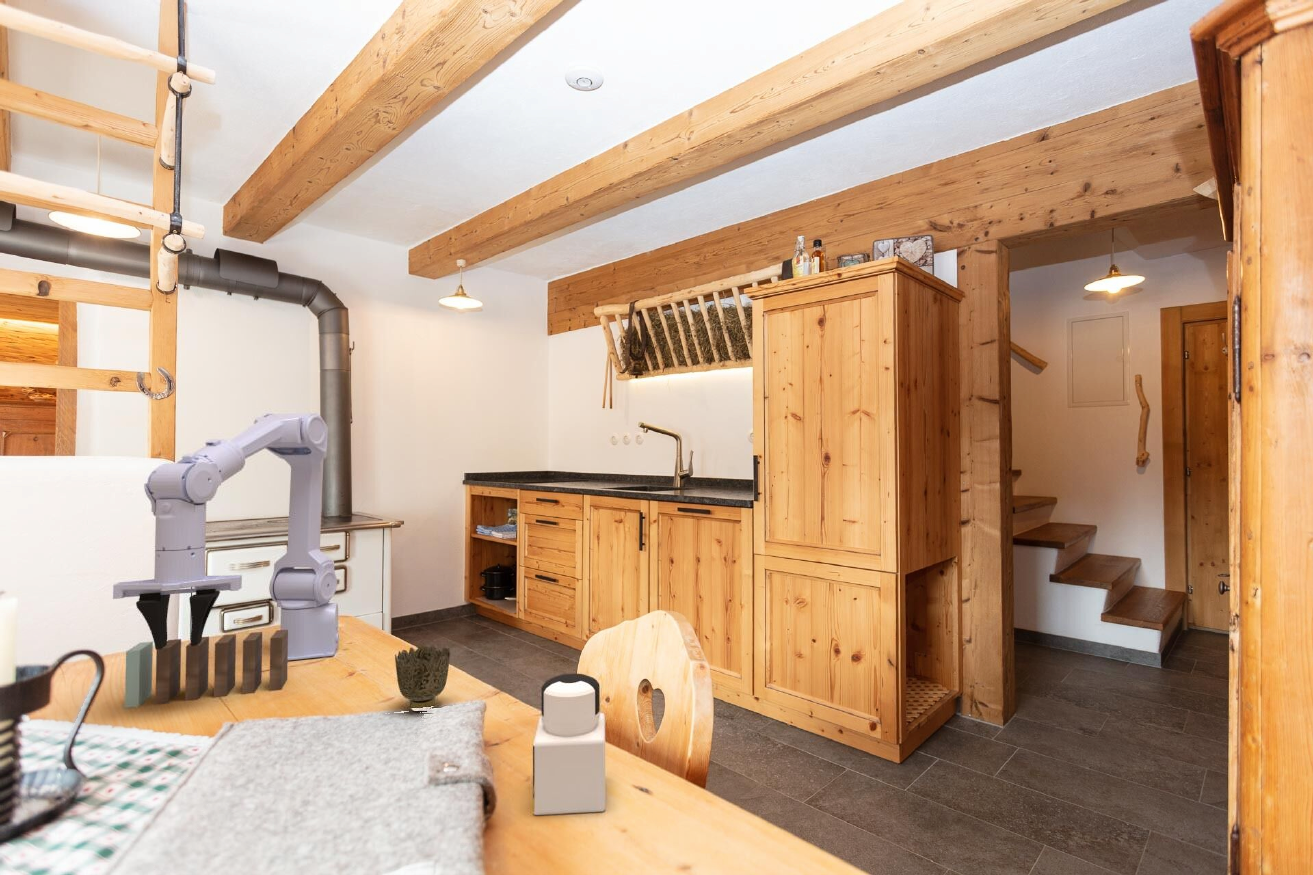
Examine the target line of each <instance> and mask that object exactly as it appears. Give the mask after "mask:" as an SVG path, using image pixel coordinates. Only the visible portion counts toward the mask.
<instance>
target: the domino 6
mask: <svg viewBox="0 0 1313 875" xmlns="http://www.w3.org/2000/svg"><path fill="white" fill-rule="evenodd" d="M269 641H270V642H269V644H270V645H269V692H272V691H274V692H275V691H281V690H282V689H283V688H284V686H285V684H286V683H287V681H288V661H289V660H288V630H280V629H279V630H276V631H275V632H274V633H273V634H272V636H271V637H270V639H269Z"/></svg>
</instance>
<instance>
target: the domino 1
mask: <svg viewBox="0 0 1313 875" xmlns="http://www.w3.org/2000/svg"><path fill="white" fill-rule="evenodd" d="M153 643H154V641H144V642H139V643H137V644H135V645H133V647H131V648H129V649H128V650H126V652H125V683H124V684H125V687H124V689H125V690H124V709H129V708H130V709H131V708H137V707H140V706H141V705H143V703H145V701H147V700H148V699H149V698H150V697H151V696H152V695H153V690H152V689H153V656H154V655H153V650H154V648H153V647H154V644H153Z"/></svg>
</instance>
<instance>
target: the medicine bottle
mask: <svg viewBox="0 0 1313 875" xmlns="http://www.w3.org/2000/svg"><path fill="white" fill-rule="evenodd" d="M600 685H601V684H600V683H599V681H597V679H596V678H594V677H592V676H589V675H586V674H585V673H584V674H583V673H563V674H559V675H556V676H553V677H551V678H549V679H547V680H546V681H545V682H544V683H543V684H542V686H541V702H540V703H541V704H540V706H541V716H539V718H538V723H537V726H536V732H535V736H534V739H533V742H532V813H533V815H535V816H541V815H542V816H546V815H563V814H565V815H566V814H579V813H580V814H581V813H582V814H583V813H598V812H599V813H600V812H604V811H605V810H606V804H607V803H606V714H605V713H603V712H601V710H600V709H601V704H600V701H601V697H600Z"/></svg>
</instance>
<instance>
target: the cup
mask: <svg viewBox="0 0 1313 875" xmlns="http://www.w3.org/2000/svg"><path fill="white" fill-rule="evenodd" d="M451 652H452V649H451V647H448V646H447V645H444V646H443V647H442V649H437V646H436V645H434V644H432V645H431V646H430V647H429V646H428V645H424V644H421V645H419V647H418V648H417V649H415V648H414V647H410V648H409V652H408V651H407V650H405V649H403V650H401V651H400V650H399V651H398V654H396V653H395V655H394V660H395V669H396V678H397V679H396V680H397V684H398V688H399V691H400V694H401V695H402V697H403V698H405V699H406V700H409V701H408V702H409V703H408V707H409V709H410V708H423V707H431V706H435V707H436V704H437V697H438V696H439V695H441V693H442V692H443V691H444V689H445V687H446V684H447V680H448V675H449V668H450V658H451Z"/></svg>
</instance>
